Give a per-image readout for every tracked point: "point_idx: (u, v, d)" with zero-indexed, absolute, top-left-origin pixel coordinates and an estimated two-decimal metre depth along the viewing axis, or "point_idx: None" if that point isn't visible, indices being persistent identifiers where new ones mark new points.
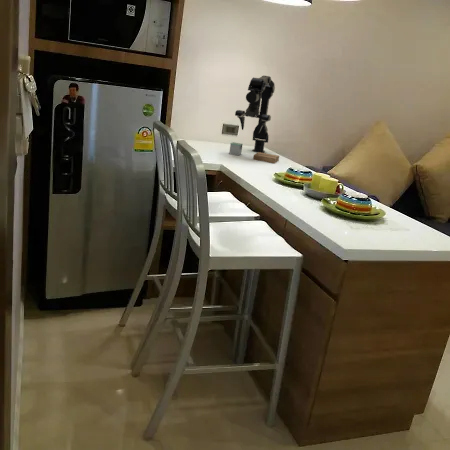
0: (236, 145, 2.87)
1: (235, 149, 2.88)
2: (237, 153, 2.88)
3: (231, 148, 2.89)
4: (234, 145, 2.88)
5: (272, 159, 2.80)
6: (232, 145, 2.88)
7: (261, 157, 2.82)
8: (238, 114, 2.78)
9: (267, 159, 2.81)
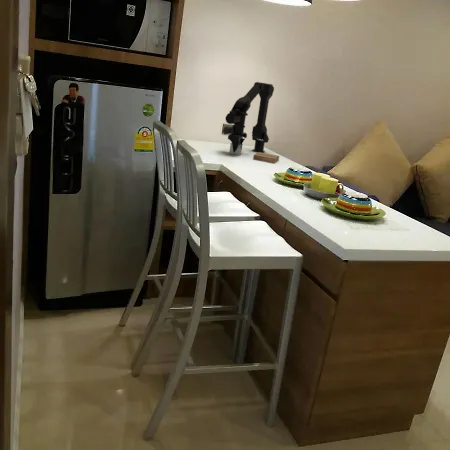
0: None
1: None
2: (237, 153, 2.88)
3: (231, 148, 2.89)
4: None
5: (272, 159, 2.80)
6: None
7: (261, 157, 2.82)
8: None
9: (267, 159, 2.81)
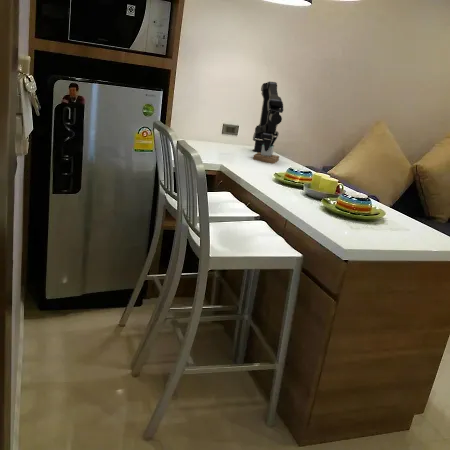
0: None
1: (267, 150, 2.83)
2: (269, 154, 2.84)
3: (263, 149, 2.84)
4: None
5: (272, 159, 2.80)
6: None
7: (261, 157, 2.82)
8: None
9: (267, 159, 2.81)
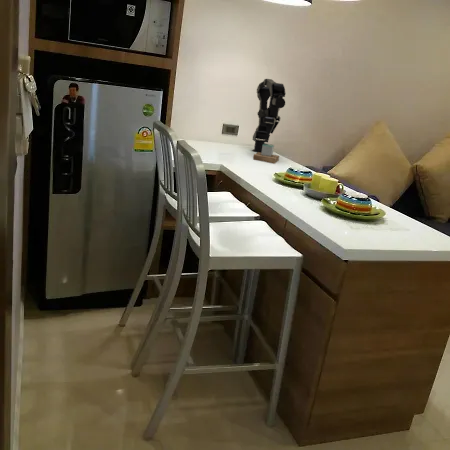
0: (268, 146, 2.82)
1: (267, 150, 2.83)
2: (269, 154, 2.83)
3: (263, 149, 2.84)
4: (267, 146, 2.83)
5: (272, 159, 2.80)
6: (264, 146, 2.83)
7: (261, 157, 2.82)
8: None
9: (267, 159, 2.81)
